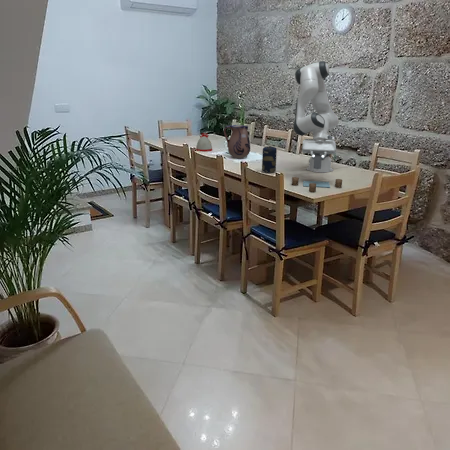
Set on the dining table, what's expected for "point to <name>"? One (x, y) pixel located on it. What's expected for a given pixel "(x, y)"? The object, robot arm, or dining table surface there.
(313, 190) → the spacer posts
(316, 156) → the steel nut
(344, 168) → the dining table surface
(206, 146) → the bell with red bow
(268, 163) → the canister
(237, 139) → the ceramic pitcher
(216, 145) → the dining table surface
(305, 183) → the pad
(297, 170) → the dining table surface
